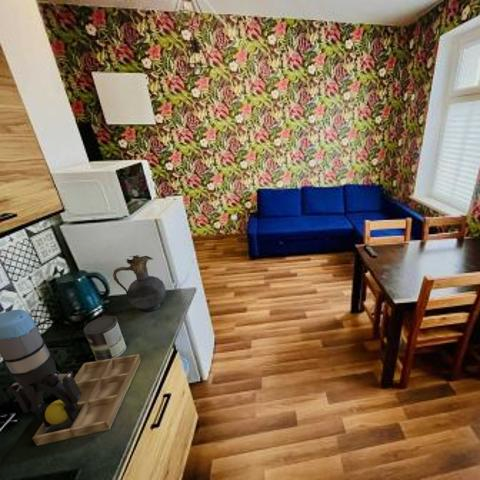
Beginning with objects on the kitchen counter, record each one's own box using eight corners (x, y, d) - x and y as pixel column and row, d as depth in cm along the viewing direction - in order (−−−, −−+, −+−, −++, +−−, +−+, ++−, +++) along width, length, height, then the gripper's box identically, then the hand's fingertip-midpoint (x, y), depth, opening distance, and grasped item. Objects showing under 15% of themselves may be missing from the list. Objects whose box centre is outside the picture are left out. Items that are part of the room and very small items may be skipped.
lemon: (74, 423, 80) (64, 405, 76) (49, 434, 77) (38, 415, 74) (76, 408, 84) (67, 390, 81) (53, 418, 81) (42, 400, 78)
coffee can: (96, 366, 101) (84, 338, 96) (94, 351, 108) (82, 323, 102) (128, 352, 107) (118, 324, 102) (124, 338, 114) (114, 312, 109)
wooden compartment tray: (36, 445, 76) (32, 438, 75) (86, 369, 100) (83, 363, 98) (109, 429, 80) (106, 422, 79) (140, 360, 104) (138, 353, 103)
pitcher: (167, 310, 132) (153, 256, 121) (122, 319, 126) (102, 263, 114) (170, 298, 142) (157, 247, 130) (128, 306, 135) (110, 253, 124)
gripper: (80, 346, 77) (104, 401, 86) (0, 359, 72) (35, 415, 81) (64, 367, 70) (93, 424, 79) (-25, 382, 66) (16, 441, 75)
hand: (63, 419), depth 80 cm, fingers closed on lemon, 5 cm apart
